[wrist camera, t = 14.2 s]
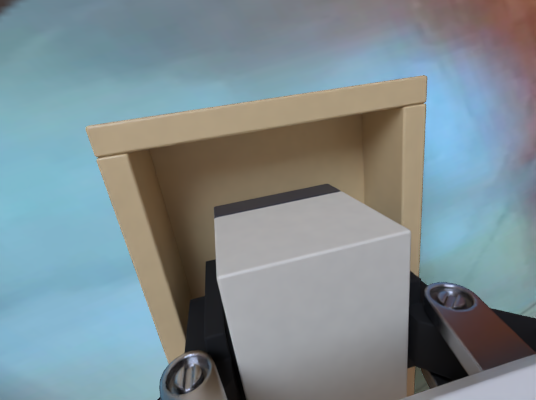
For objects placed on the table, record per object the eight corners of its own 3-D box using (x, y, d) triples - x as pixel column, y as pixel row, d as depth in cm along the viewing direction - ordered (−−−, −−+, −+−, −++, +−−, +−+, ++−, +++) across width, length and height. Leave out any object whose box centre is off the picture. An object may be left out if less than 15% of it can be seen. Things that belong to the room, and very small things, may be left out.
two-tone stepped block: (213, 206, 10) (215, 277, 6) (328, 182, 11) (413, 230, 6) (261, 421, 14) (286, 566, 9) (344, 394, 15) (404, 517, 10)
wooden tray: (121, 123, 10) (83, 126, 7) (370, 85, 11) (428, 74, 8) (224, 455, 16) (228, 533, 13) (377, 403, 17) (411, 463, 14)
